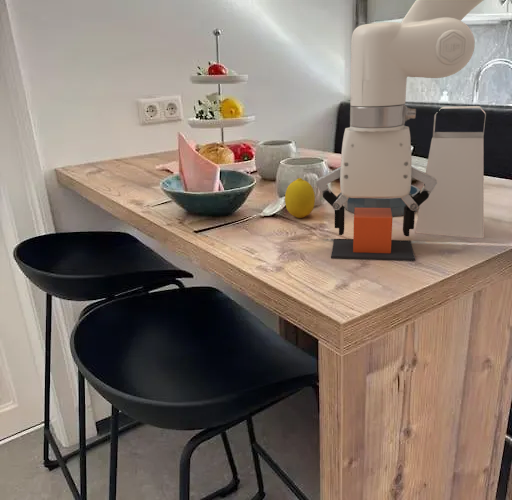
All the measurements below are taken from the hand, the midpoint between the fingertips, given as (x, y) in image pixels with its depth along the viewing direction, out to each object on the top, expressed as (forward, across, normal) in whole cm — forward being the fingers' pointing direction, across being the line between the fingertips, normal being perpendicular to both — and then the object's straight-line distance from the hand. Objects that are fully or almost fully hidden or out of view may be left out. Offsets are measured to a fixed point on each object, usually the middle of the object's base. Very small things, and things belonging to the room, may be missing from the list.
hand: (373, 233), depth 77 cm
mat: (+3, 0, 0) cm, 3 cm away
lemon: (+3, +13, -15) cm, 20 cm away
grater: (+3, -13, -11) cm, 17 cm away
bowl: (+3, -2, -23) cm, 23 cm away
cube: (+2, 0, 0) cm, 2 cm away
